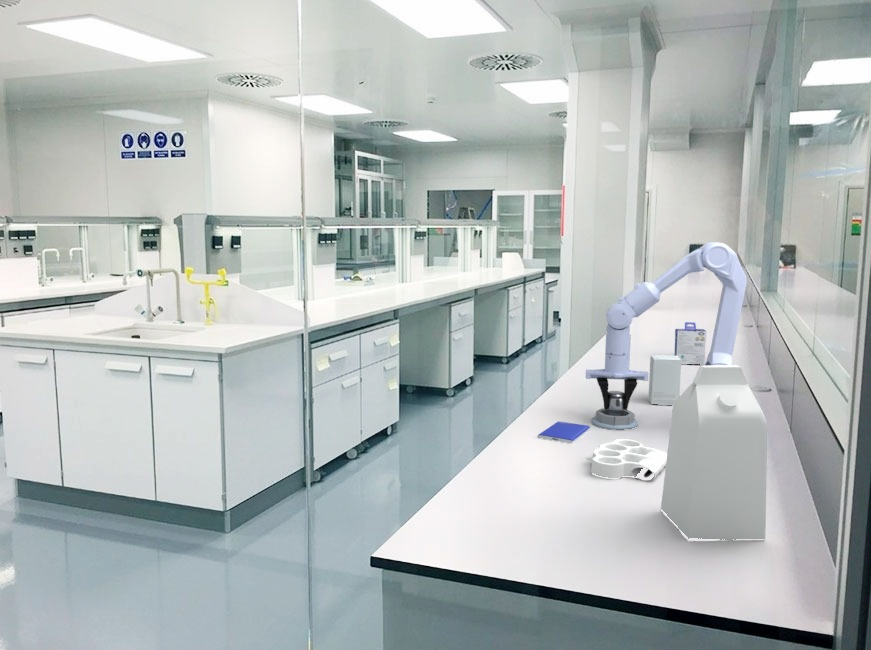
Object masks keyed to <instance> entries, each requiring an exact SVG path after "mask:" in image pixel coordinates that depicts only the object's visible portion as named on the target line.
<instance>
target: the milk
mask: <svg viewBox="0 0 871 650" xmlns="http://www.w3.org/2000/svg"><path fill="white" fill-rule="evenodd" d="M698 367H699V368H698V369H697V371H696V374H695V375H694V376H695V377H694V378H693V380H692V383H691V384H690V385H689V386H688V387H687V388H686V389H685V390H684V391H683V393H682V394H681V395H679V398H678V399H677V400H676V402H675V403H674V406H672V410H671V418H670V426H669V433H668V434H669V437H668V444H667V452H666V454H667V460H666V465H665V470H664V478H663V487H662V496H661V504H660V505H661V506H660V510H661V509H662V510H663V511H664V512H665V513H666V514H667V516H668V517H669V518H670V519H671V520H672V521H673V522H674V523H675V524H676V525H677V526H678V528H679V529H680V530H681V531H682V532H683V533H684V534H685V535H686V536H687V537H688V539H689V538H698V539H699V538H700V539H701V538H702V539H720V540H722V539H723V540H724V539H725V540H733V539H734V540H736V539H765V540H766V527H767V526H766V525H767V524H766V522H767V520H766V519H767V517H766V516H767V508H766V507H767V472H768V471H767V470H768V469H767V468H768V467H767V466H768V465H767V464H768V463H767V462H768V421H767V419H766V416H765V414H764V411H763V410H762V408H761V406H760V404H759V403H758V401H757V399H756V397H755V394H753V391H752V390H751V388H750V386H749V385H748V382H747V379H746V377H745V375H744V371H743V370H742V367H741V366H739V365H734V364H732V365H721V366H704V365H699V366H698Z"/></svg>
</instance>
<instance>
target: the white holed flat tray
mask: <svg viewBox="0 0 871 650" xmlns="http://www.w3.org/2000/svg"><path fill="white" fill-rule="evenodd" d="M585 459H586V460H587V461H589V462H591V470H590V471H592V473H594V474H596V475H598V476H602V477H608V478H619V477H622V476H634V477H636V476H637V474H638V473H640V471H641V469H643V468H646V469H648V470H650V471H649V472H651V473H652V472H653V473H654V477H653V478H652V479H651V480H650V481H653V480H655V479H657V476H658V475H659V474H660V472H662V471H663V470H664V468H666V460H667V452H665V451H663V450H660V449H657V448H653V447H647V446H645V445H643V444H642V442H639V441H638V440H635V439H629V438H627V439H626V438H617V439H614V440H613V441H611V442H607V443H606V442H604V443H603V444H599V446H598V448H595V449H594V450H593V453H592V455H589V456H587V457H585ZM592 473H591V474H592Z"/></svg>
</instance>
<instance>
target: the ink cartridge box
mask: <svg viewBox="0 0 871 650" xmlns="http://www.w3.org/2000/svg"><path fill="white" fill-rule="evenodd" d="M690 325H692V326H690ZM674 331H675V332H674V333H675V334H674V354H673V356H678V357H679V358H680V360H681V365H687V364H700V365H699V366H704V365H705V363H706V362H705V360H706V359H705V358H706V357H705V356H706V343H707V342H706V341H707V330H705V329H703V328H697V325H696V322H691V321H690V322H688V321H687V322H684V328H675V330H674Z"/></svg>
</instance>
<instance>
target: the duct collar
mask: <svg viewBox="0 0 871 650" xmlns="http://www.w3.org/2000/svg"><path fill="white" fill-rule="evenodd" d="M591 425H593V426H595V427H597V428H600V427H601V428H600V429H604V428H606V430H610V429H616V430H615V431H625V430H624V429H631V430H633V429H632V428H635V427H637V426H638V427H639V421H638V420H637V419H636V418H635V413H634V412H632V411H631V410H629V409H627V410H624V416H611V415H607V409H605V408H604V407H602V408H599V409H598V410H596V411H595V416H593V417H592V418H591ZM638 427H637V428H638ZM635 429H636V428H635Z"/></svg>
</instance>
